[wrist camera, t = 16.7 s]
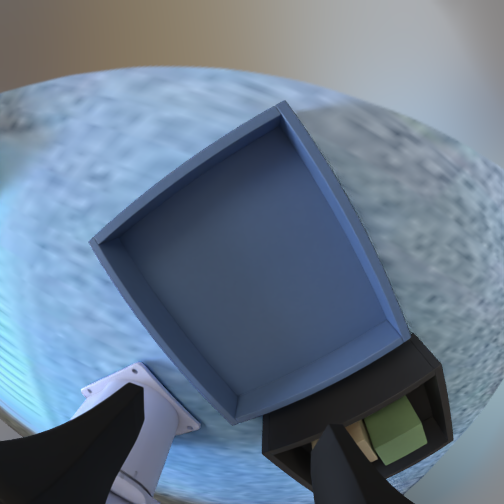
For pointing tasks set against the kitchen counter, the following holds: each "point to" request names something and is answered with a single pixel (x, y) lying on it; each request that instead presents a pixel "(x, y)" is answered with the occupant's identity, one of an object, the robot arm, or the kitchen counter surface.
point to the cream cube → (360, 439)
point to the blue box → (254, 270)
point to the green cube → (395, 430)
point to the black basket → (363, 410)
